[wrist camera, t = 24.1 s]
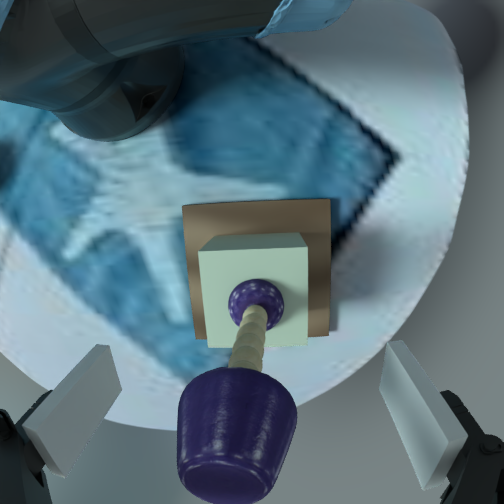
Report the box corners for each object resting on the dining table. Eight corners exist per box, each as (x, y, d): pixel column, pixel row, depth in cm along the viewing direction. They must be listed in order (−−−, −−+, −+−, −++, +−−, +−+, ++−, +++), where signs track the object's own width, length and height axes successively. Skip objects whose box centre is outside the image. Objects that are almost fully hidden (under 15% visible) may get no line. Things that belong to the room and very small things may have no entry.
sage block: (214, 235, 30) (198, 251, 23) (299, 232, 29) (307, 247, 23) (220, 313, 32) (208, 347, 25) (300, 311, 31) (307, 345, 24)
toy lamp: (212, 310, 24) (136, 489, 8) (240, 259, 23) (183, 419, 7) (266, 338, 24) (259, 531, 8) (297, 290, 23) (339, 474, 7)
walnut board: (184, 205, 30) (181, 205, 30) (328, 198, 30) (330, 199, 29) (197, 334, 33) (195, 339, 32) (327, 331, 33) (328, 335, 32)
